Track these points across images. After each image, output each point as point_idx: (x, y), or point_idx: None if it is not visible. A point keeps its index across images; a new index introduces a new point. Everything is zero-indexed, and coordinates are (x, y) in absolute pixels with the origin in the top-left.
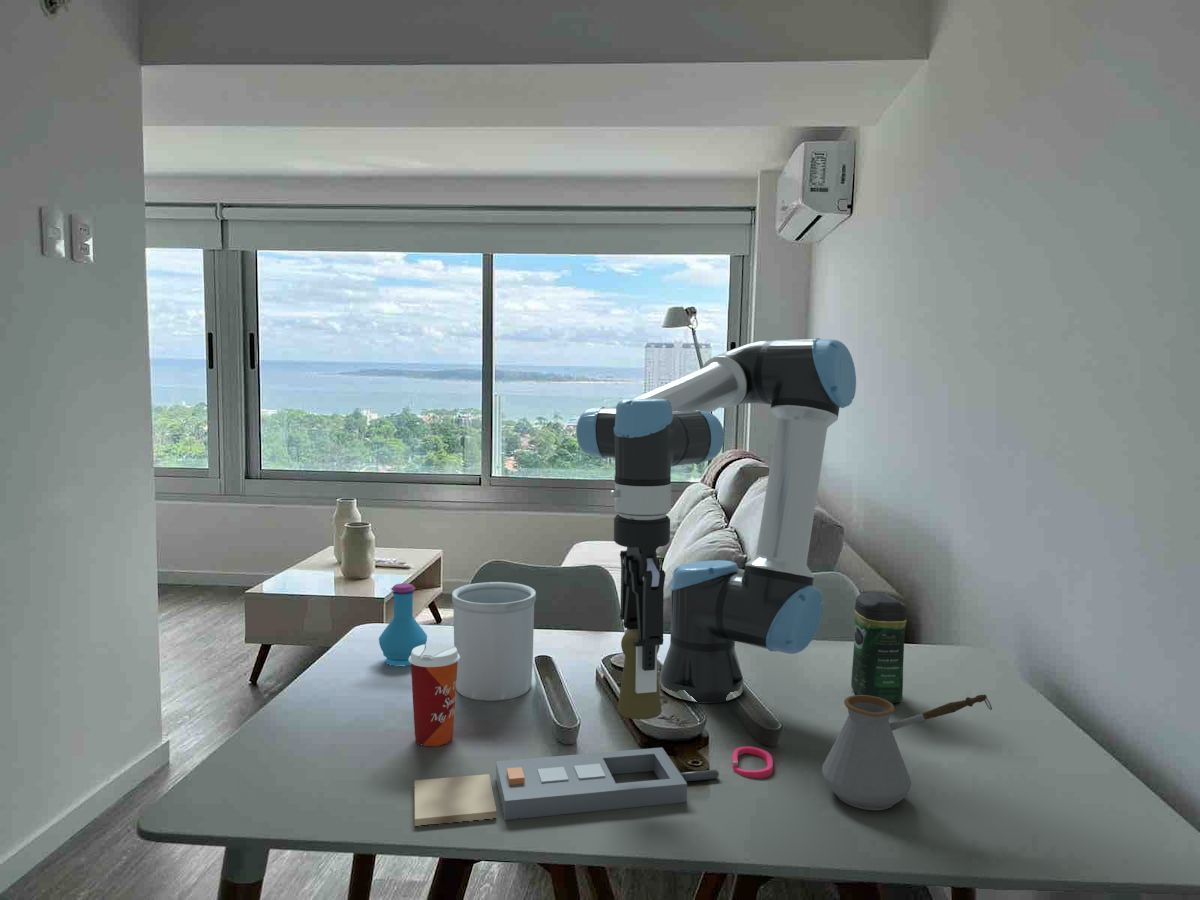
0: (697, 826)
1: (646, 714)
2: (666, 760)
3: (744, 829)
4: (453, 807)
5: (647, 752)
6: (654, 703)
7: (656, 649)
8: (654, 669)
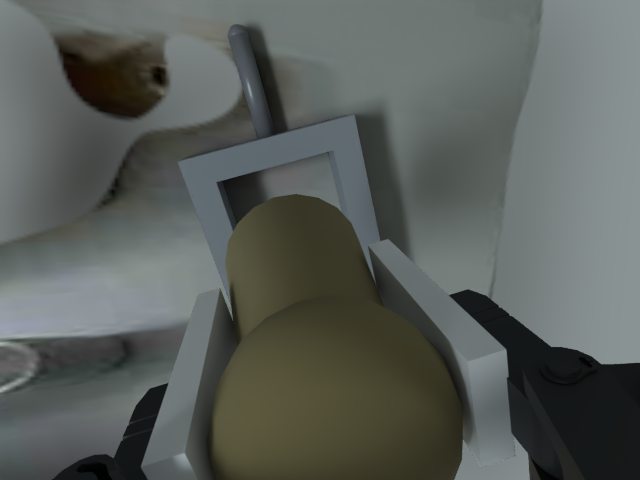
0: (429, 102)
1: (360, 244)
2: (247, 154)
3: (442, 6)
4: None
5: (212, 197)
6: (348, 229)
7: (485, 332)
8: (468, 290)
